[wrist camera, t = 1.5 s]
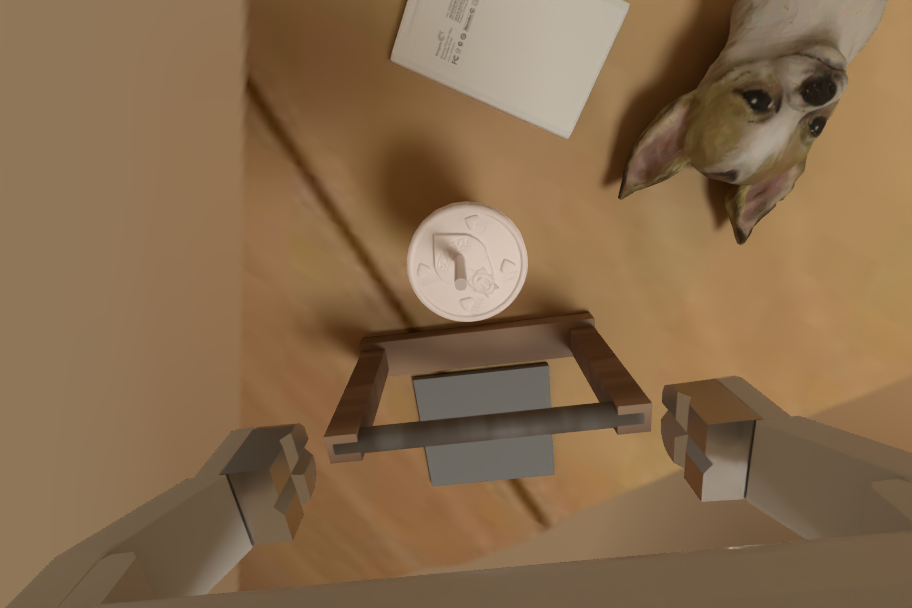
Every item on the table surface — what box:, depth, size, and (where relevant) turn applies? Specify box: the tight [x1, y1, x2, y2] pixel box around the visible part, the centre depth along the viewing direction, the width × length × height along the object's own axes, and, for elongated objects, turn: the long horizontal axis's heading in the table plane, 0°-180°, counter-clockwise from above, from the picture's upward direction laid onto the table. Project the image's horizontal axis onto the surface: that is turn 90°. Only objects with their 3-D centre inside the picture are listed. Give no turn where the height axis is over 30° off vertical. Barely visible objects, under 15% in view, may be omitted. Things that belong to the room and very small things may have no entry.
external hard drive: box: [390, 0, 630, 139], centre depth 27 cm, size 2×8×12 cm
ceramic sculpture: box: [618, 0, 888, 245], centre depth 25 cm, size 11×9×15 cm
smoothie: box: [407, 201, 528, 322], centre depth 25 cm, size 6×6×14 cm
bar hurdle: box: [324, 313, 652, 463], centre depth 29 cm, size 3×18×12 cm, turn 97°
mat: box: [413, 363, 554, 486], centre depth 37 cm, size 11×11×1 cm
